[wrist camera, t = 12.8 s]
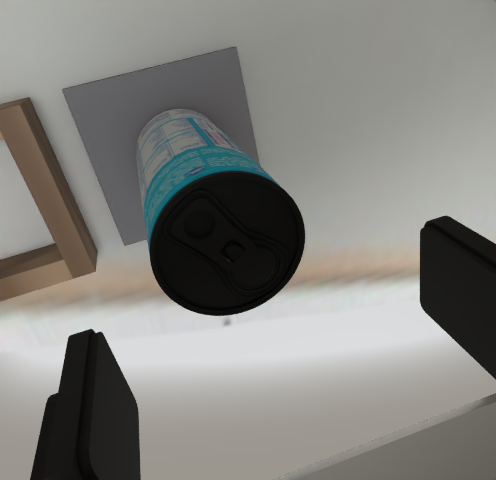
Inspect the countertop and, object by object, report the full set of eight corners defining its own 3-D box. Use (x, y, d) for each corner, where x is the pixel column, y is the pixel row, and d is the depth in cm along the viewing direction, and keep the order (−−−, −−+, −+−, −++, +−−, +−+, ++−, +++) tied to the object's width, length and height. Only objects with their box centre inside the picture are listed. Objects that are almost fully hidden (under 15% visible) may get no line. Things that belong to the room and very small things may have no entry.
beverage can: (173, 209, 30) (214, 341, 17) (115, 143, 27) (113, 244, 14) (238, 159, 30) (331, 255, 17) (188, 87, 27) (253, 137, 14)
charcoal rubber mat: (234, 46, 27) (236, 46, 27) (264, 199, 32) (266, 202, 32) (63, 89, 26) (62, 90, 25) (124, 242, 31) (124, 245, 30)
